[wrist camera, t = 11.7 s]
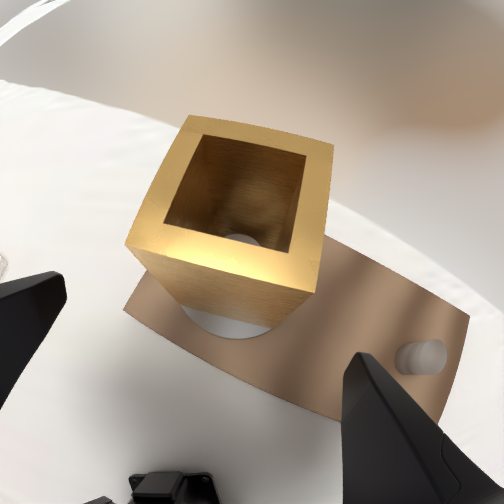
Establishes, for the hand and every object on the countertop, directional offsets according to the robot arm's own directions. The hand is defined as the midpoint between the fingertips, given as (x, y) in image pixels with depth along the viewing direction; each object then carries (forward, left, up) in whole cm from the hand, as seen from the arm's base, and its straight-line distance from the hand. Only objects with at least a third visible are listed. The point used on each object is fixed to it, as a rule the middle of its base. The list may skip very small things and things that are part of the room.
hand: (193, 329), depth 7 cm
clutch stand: (0, -8, -12) cm, 15 cm away
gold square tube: (+4, -2, -10) cm, 11 cm away
